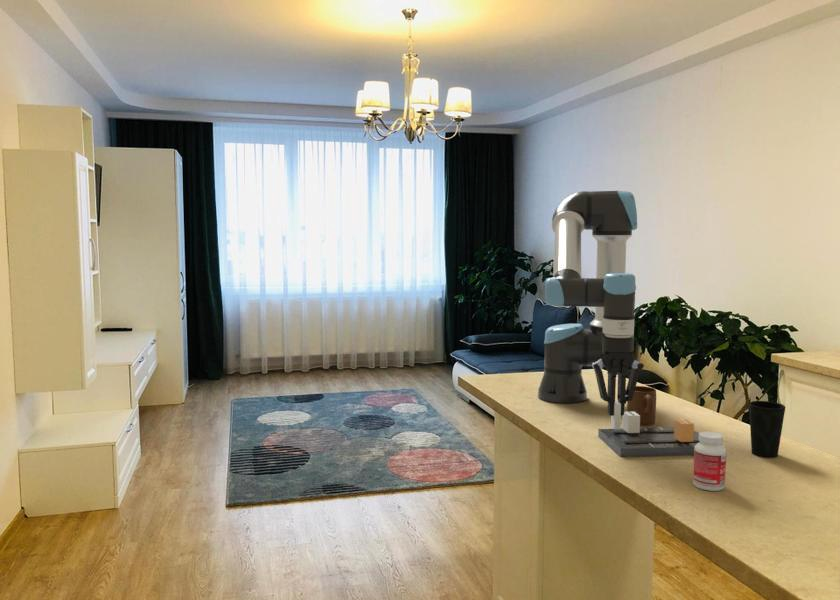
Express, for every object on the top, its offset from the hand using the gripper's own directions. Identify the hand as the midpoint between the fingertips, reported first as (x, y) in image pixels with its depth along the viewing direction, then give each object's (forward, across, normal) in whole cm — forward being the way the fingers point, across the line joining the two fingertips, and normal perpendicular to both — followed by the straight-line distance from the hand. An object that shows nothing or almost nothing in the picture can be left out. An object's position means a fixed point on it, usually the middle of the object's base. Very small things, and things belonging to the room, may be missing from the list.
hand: (615, 427), depth 174 cm
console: (+3, +9, -4) cm, 10 cm away
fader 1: (+1, +4, 0) cm, 4 cm away
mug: (+4, +13, +14) cm, 19 cm away
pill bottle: (+4, +9, -31) cm, 33 cm away
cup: (+4, +32, -12) cm, 35 cm away
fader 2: (+1, +14, -8) cm, 16 cm away
